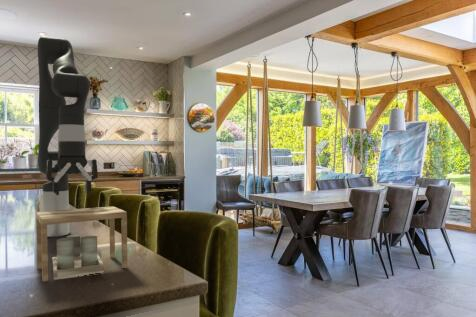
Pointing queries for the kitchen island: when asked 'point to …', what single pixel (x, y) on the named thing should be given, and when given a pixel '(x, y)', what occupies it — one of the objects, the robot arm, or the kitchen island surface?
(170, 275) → the kitchen island surface
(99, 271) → the tray
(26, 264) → the kitchen island surface
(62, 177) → the robot arm
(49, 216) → the oak shelf
